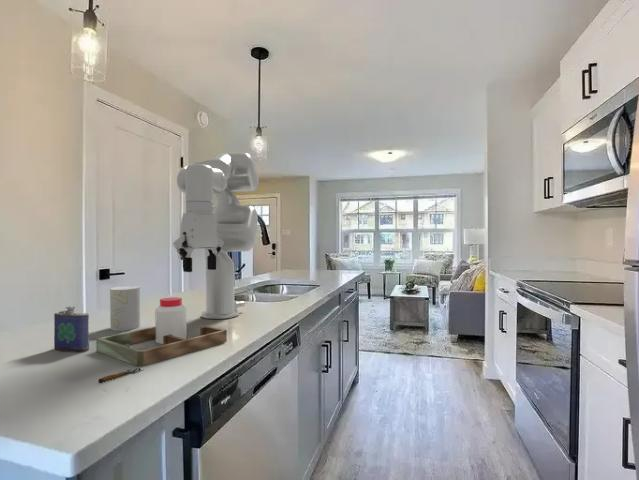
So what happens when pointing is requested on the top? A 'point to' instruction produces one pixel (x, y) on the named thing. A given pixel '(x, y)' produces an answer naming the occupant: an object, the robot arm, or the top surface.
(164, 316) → the pill bottle
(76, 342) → the flask
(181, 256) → the robot arm
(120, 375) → the can opener
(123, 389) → the top surface
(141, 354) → the wooden frame
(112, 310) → the cup
